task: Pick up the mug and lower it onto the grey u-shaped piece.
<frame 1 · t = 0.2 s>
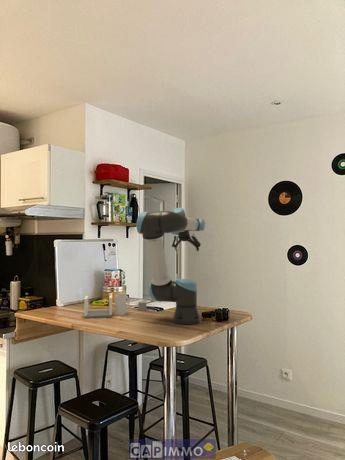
hand: (188, 254, 251), 36 cm above the counter, tool tilted 35°, fingers open, 13 cm apart
mug: (122, 314, 222), on the counter
junction box: (142, 309, 237), on the counter
grey u-shaped piece: (98, 315, 218), on the counter
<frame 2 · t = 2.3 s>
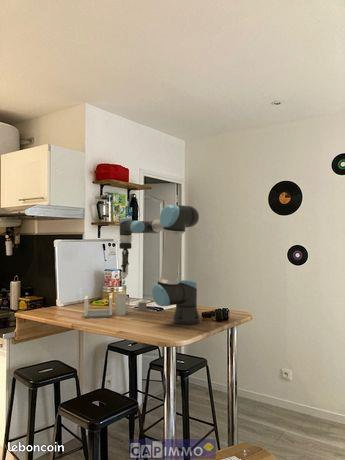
hand: (125, 276, 225), 23 cm above the counter, tool pointing down, fingers open, 13 cm apart
nothing on the counter moved.
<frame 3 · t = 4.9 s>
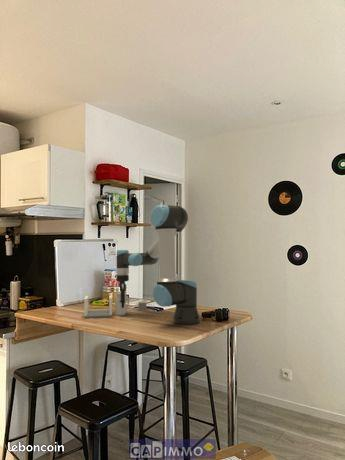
hand: (122, 311, 222), 2 cm above the counter, tool pointing down, fingers open, 7 cm apart
mug: (122, 314, 222), on the counter, touching gripper
everything else where it was.
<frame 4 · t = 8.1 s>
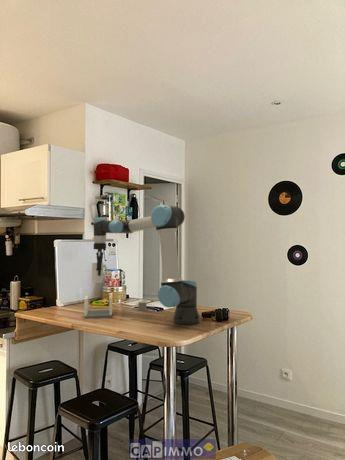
hand: (99, 280, 219), 21 cm above the counter, tool pointing down, fingers closed on mug, 7 cm apart
mug: (99, 282, 220), point 20 cm above the counter, touching gripper
everything else where it was.
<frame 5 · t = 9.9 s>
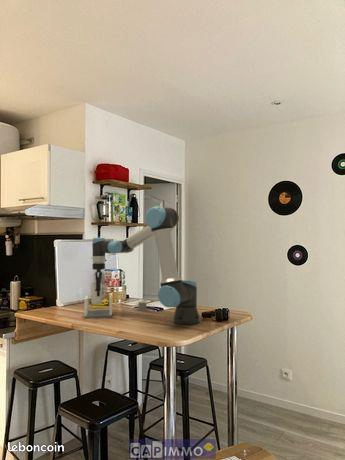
hand: (98, 300, 218), 9 cm above the counter, tool pointing down, fingers closed on mug, 7 cm apart
mug: (98, 303, 219), point 8 cm above the counter, touching gripper
everything else where it was.
when the fingers open (4 cm above the counter, at t = 11.3 s): mug moves 1 cm, resting on grey u-shaped piece.
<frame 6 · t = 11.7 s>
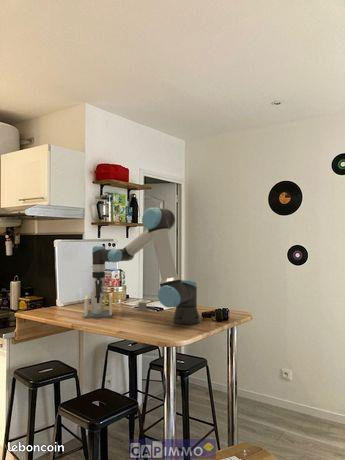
hand: (98, 306, 218), 6 cm above the counter, tool pointing down, fingers open, 12 cm apart
mug: (99, 313, 219), point 1 cm above the counter, touching grey u-shaped piece
everything else where it was.
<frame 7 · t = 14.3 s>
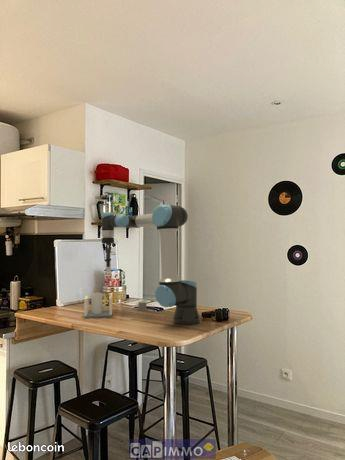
hand: (108, 271, 223), 26 cm above the counter, tool pointing down, fingers open, 13 cm apart
nothing on the counter moved.
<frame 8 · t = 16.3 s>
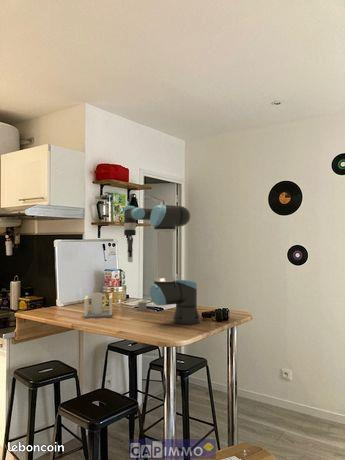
hand: (130, 261, 237), 32 cm above the counter, tool pointing down, fingers open, 13 cm apart
nothing on the counter moved.
at the end: mug 1.4 cm off-centre on the grey u-shaped piece, point 1.3 cm above the grey u-shaped piece's base; mug tilted 0°; the gripper is holding nothing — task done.
